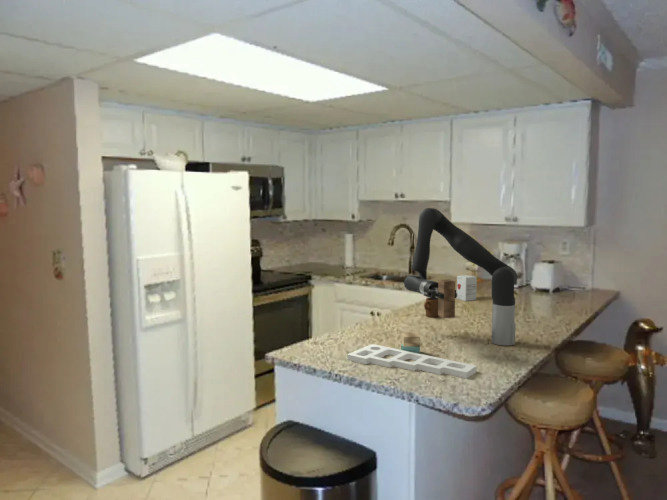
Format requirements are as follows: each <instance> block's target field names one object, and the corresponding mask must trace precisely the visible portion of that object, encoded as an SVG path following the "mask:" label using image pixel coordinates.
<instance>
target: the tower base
mask: <svg viewBox="0 0 667 500" xmlns="http://www.w3.org/2000/svg"><path fill="white" fill-rule="evenodd" d="M400 350H404V351H409V352H413V353H418V354H421V346H420V347H404V346H403V344H402V343H401V345H400Z"/></svg>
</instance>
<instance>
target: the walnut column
mask: <svg viewBox="0 0 667 500" xmlns="http://www.w3.org/2000/svg"><path fill="white" fill-rule="evenodd" d="M437 280H438V281H437V282H438V291H439V292H441V293H443V294H444V299H441V298H438V316H439V317H440V318H442V319H453V318H455V317H456V316H455V315H456V298H455V290H456V280H452V279H451V278H449V279H437Z"/></svg>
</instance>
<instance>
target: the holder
mask: <svg viewBox="0 0 667 500" xmlns="http://www.w3.org/2000/svg"><path fill="white" fill-rule="evenodd" d="M386 356H392V357H390V358H384V357H386ZM346 357H347V361H349V362H354V363H357V364H358V363H359V364H361V365H368V364H372V365H376V366H381V367H384V368H385V367H386V368H392V367H395V368H399V369H404V370H407V369H408V371H411V370H413V372H415V370H416V371H421V370H422V372H426V373H430V374H435V375H438V376H440V375H443V374H445V375H450V376H454V377H459V378H464V379H468V378H469V377H471V376H472V375H474V374H475V373H476V372H477V365H475V364H471V363H466V362H461V361H456V360H452V359H446V358H441V357H438V356H431V355H428V354H423V353H419V354H418V353H413V352H409V351H404V350H401V349H399V348H394V347H388V346H384V345H379V344H374V343H371V344H368V345H367V346H363V347H361V348H358V349H356V350H355V351H351V352H349V353H348V354H347V355H346ZM406 360H413V361H406ZM417 369H418V370H417Z"/></svg>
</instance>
